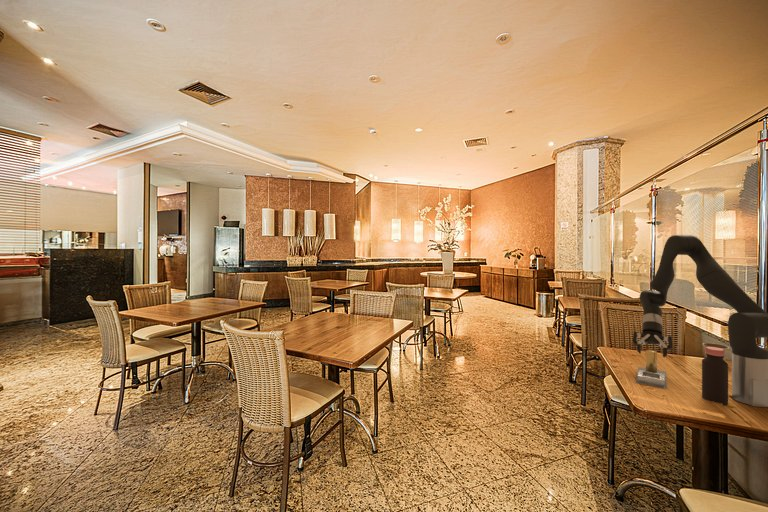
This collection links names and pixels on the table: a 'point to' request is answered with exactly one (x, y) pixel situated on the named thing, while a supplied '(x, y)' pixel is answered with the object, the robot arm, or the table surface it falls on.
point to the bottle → (715, 376)
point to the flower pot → (717, 347)
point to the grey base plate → (652, 384)
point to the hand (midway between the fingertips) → (651, 354)
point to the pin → (651, 361)
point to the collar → (651, 378)
